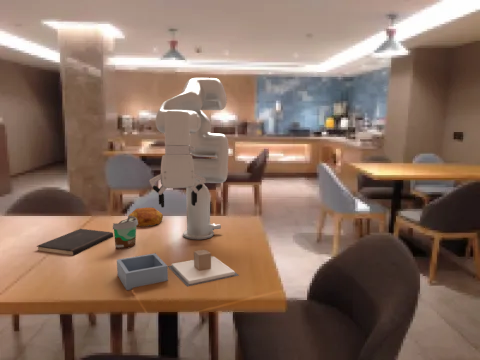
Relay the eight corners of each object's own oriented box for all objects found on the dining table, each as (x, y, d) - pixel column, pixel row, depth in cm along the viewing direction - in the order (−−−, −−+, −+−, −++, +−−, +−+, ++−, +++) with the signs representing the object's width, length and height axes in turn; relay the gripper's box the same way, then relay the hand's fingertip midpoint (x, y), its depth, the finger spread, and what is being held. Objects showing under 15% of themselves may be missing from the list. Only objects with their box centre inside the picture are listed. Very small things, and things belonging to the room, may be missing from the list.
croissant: (130, 224, 182) (127, 208, 181) (163, 218, 186) (160, 202, 184) (128, 232, 168) (125, 214, 167) (164, 225, 172) (161, 208, 170)
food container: (129, 251, 139) (128, 224, 137) (113, 250, 140) (112, 223, 138) (144, 241, 151) (143, 216, 149) (129, 240, 152) (128, 215, 150)
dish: (155, 268, 124) (155, 253, 123) (167, 282, 114) (167, 265, 113) (117, 275, 118) (116, 259, 118) (126, 290, 108) (126, 273, 107)
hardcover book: (37, 251, 139) (36, 245, 139) (80, 234, 161) (80, 228, 161) (73, 257, 135) (73, 250, 134) (113, 237, 156) (113, 232, 156)
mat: (215, 258, 133) (215, 257, 133) (239, 276, 118) (239, 275, 118) (167, 267, 124) (167, 266, 124) (187, 288, 110) (187, 286, 110)
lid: (213, 258, 131) (213, 242, 130) (234, 274, 118) (234, 256, 117) (171, 266, 124) (171, 248, 123) (189, 284, 111) (188, 264, 110)
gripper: (202, 149, 124) (202, 202, 126) (147, 150, 119) (148, 204, 121) (207, 151, 117) (207, 206, 119) (149, 152, 112) (150, 209, 114)
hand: (178, 205), depth 120 cm, fingers open, 9 cm apart
